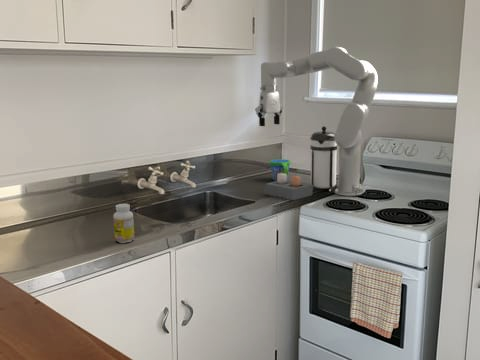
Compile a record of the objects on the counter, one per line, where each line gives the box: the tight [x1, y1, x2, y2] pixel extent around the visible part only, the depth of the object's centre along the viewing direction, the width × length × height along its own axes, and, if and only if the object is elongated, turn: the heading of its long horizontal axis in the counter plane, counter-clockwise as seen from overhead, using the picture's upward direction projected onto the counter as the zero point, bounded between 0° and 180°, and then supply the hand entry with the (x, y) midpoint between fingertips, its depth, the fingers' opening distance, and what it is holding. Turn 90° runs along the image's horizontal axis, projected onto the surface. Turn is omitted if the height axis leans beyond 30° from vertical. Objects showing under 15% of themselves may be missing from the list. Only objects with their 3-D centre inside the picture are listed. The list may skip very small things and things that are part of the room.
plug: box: [277, 173, 288, 185], centre depth 251 cm, size 4×4×5 cm
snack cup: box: [269, 158, 291, 182], centre depth 280 cm, size 16×10×10 cm
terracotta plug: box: [290, 175, 302, 187], centre depth 245 cm, size 4×4×5 cm
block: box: [265, 179, 313, 201], centre depth 249 cm, size 17×13×5 cm
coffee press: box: [309, 125, 338, 193], centre depth 258 cm, size 17×16×30 cm
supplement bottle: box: [112, 203, 135, 240], centre depth 186 cm, size 7×7×13 cm
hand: (269, 125), depth 259 cm, fingers open, 9 cm apart
